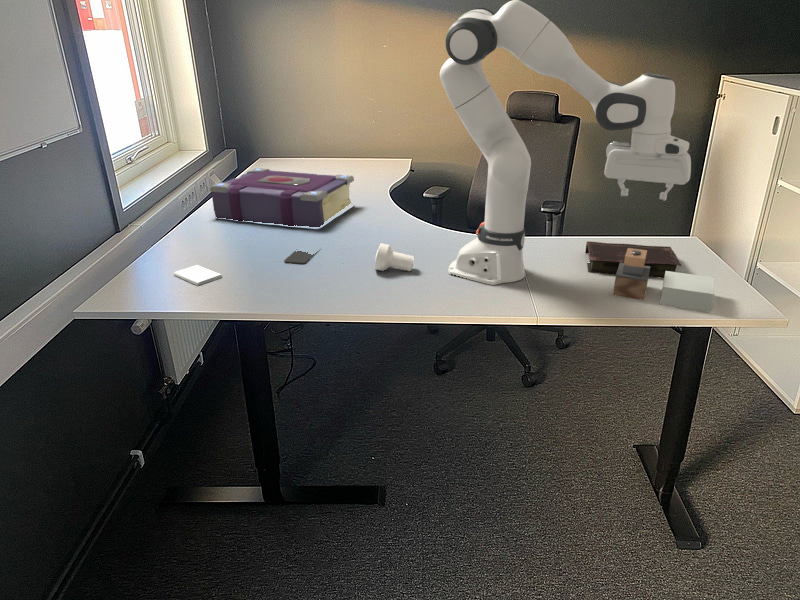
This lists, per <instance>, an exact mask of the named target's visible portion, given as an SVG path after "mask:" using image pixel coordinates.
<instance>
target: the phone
mask: <svg viewBox="0 0 800 600" xmlns="http://www.w3.org/2000/svg"><path fill="white" fill-rule="evenodd" d="M313 255H314V254H313ZM313 255H311V254H308V252H307V253H306V252H302V251H297V252H296V251H295V250H294V251H293V252H292V253H291V254H290V255H289V256H287V257H286V258H285V259H284V261H283V263H284V262H285V263H284V264H289V263H292V264H293V265H307V262H308V261H309V260H310V258H311V257H312V256H313ZM310 261H311V260H310ZM310 261H309V262H310ZM309 262H308V263H309ZM292 264H291V265H292Z"/></svg>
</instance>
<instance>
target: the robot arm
mask: <svg viewBox="0 0 800 600" xmlns="http://www.w3.org/2000/svg"><path fill="white" fill-rule="evenodd" d="M499 48H500V49H504V50H506V52H507V51H508V52H509V53H510V54H512V56H514V57H515V58H516V60H519V62H521V63H522V64H523V65H524V66H525V67H527V68H529V69H530V70H532V71H534V72H535V73H537V74H539V75H541V76H545V77H551V78H554V79H555V78H556V79H558V80H561V81H563V82H564V83H566V84H567V85H568V86H570V87H571V88H572V89H574V90H575V91H576V92H577V93H579V94H580V95H581V96H582V97H583V98H584V99H586V100H587V101H588V103H589V104H590V106H591V108H592V110H593V113H594V115H595V119H596V122H597V123H598V125H599V126H600V127H601V128H603V129H604V130H607V131H609V132H617V131H619V132H620V131H623V130H625V131H626V130H629V129H632V130H631V138H630V141H618V140H617V141H613V142H611V143H608V145H606V152H605V155H606V158H607V159H606V162H605V166H604V167H605V168H604V171H603V172H604V176H605V178H607V179H615V180H617V185H618V186H619V189H620V190H621V191H620V197H628V196H629V191H630V189H629V188H626V186H625V182H626V180H627V181H636V182H637V181H639V182H647V183H649V182H650V183H658V184H665V188H666V189H665V190H664V191H661V192H660V193H659V198H658V201H663V202H664V201H667V198H668V193H669V192H670V191H671V190H672V189H673V187H674V185H680V186H681V185H684V186H685V184H687V183H688V182H689V181H690V179H691V173H692V159H691V155H690V153H688V151H689V149H690V142H689V141H687V140H684V139H681V138H679V137H677V136H673V135H671V134H672V133H671V132H672V128H671V127H672V126H671V122H672V120H671V119H672V117H673V114H674V110H675V103H676V84H675V82H674V80H673V79H672V78H671V77H669V76H668V75H663V74H660V73H652V72H651V73H650V72H645V73H642V74H641V75H640V76H639V77H637V78H636V79H634V80H632V81H631V82H629V83H626V84H625V85H623V84H620V83H617V82H613V81H612V82H611V81H609V80H606V79H605V78H604V77H602V75H600V74H599V73H598V72H596V71H595V70H594V69H593V68H592V67H590V66H589V65H588V64H587V63H586V62H585V61H583V59H582V58H581V57H580V56H579V55H578V54H577V51H576V50H575V49H574V46H573V45H572V43H571V42H570V40H568V38H567V36H566V35H565V34H564V33H563V32H562V31H561V29H560V28H559V27H558V26H557V25H556V24H555V23H554V22H552V21H551V20H550V19H549V18H548V17H546V16H545V15H544V14H543V13H541V12H540V11H538V10H537V9H535V8H534V7H532V6H531V5H529V4H527V3H526V2H524V1H522V0H510V1H508V2H506V3H505V4H503V5H502V6H501V7H500V8H499V10H498V11H497V12H496V13H495V12H494V11H492V10H491V9H489V8H487V7H486V8H485V7H475V8H473V9H470V10H469V11H467V12H465V13H463V14H462V15H460V16H459V18H458V19H457V20H455V22H453V23H452V24H451V25H450V27H449V29H448V31H447V34H446V36H445V49H446V52H447V55H448V56H449V58H448V59H446V60H445V62H444V63H443V64H442V66H441V67H440V70H439V78H440V79H439V80H440V82H441V85H442V87H443V89H444V93H445V94H446V96H447V99H448V100H449V103H450V104H451V106H452V108H453V109H454V111H455V113H456V114H457V116H458V117H459V120H460V122H462V124H463V127H464V129H465V130H466V131H467V133H468V135H469V136H470V137H471V138H472V140H473V141H474V143H475V144H476V146H477V147H478V149H479V151H480V152H481V153H482V155H483V157H484V159H485V160H486V162H487V165H488V166H487V181H486V192H485V193H486V194H485V195H486V196H485V207H484V209H485V210H484V221H483V222H481V223H480V224H479V227H478V228H477V230H476V231H475V232H476V233H475V235H476V237H475V238H474V239H472V240H471V241H469V242H467V243H466V244H464V245H463V246H462V247H461V248H460V250H459V252H458V253H457V256H456V259H455V260H453V261H452V262H451V263H450V264H449V266H448V270H447V271H448V274H449V273H450V274H449V275H451V274H453V275H452V276H454V275H456V276H455V277H458V276H460V277H459V278H462V277H463V279H466V278H467V280H470V281H475V282H479V283H483V284H487V285H491V286H495V285H500V284H504V283H505V284H506V283H514V282H518V281H520V280H523V279H524V278H525V277H526V270H525V266H524V258H523V255H524V253H523V248H524V245H525V240H526V239H525V237H526V233H525V232H526V228H525V227H524V225H525V214H526V202H527V197H528V196H527V194H528V190H529V182H530V174H531V166H532V159H531V156H530V153H529V150H528V148H527V146H526V144H525V142H524V141H523V139H522V137H521V135H520V134H519V132H518V130H517V128H516V127H515V125H514V124H513V121H512V120H511V118H510V117H509V115H508V114H507V112H506V110H505V108H504V106H503V104H502V103H501V101H500V99H499V97H498V95H497V93H496V92H495V90H494V88H493V86H492V85H491V83H490V81H489V79H488V78H487V76H486V74H485V73H484V70H483V65H482V63H483V60H484V59H485V58H486V57H488V55H490V54H492V53H493V52H494V51H495V50H496V49H499Z"/></svg>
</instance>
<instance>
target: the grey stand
mask: <svg viewBox="0 0 800 600" xmlns="http://www.w3.org/2000/svg"><path fill="white" fill-rule="evenodd" d="M662 282H663V283H662V287H661V288H662V289H661V293H660V301H659V302H660V303H659V304H660V305H663V306H667V307H675V308H680V309H681V308H682V309H686V310H693V311H700V312H705V313H706V312H708V313H711V312H712V308H713V303H714V299H715V291H716V290H715V277H714V276H713V277H712V276H708V275H707V276H706V275H699V274H691V273H684V272H677V271H676V272H671V271H665V276H664V278H663V281H662Z"/></svg>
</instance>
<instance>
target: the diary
mask: <svg viewBox="0 0 800 600" xmlns="http://www.w3.org/2000/svg"><path fill="white" fill-rule="evenodd" d="M628 248H632V249H640V250H647V254H646V260H645V266H650V272H649V277H648V278H657V277H661V278H660V279H664V276H665V271H671V272H677V266H678V267H682V264H681V262H680V260H679V258H678V256H677V254H676V253H675V251H674V250H673V248H672V247H671V246H665V245H664V246H663V245H662V246H660V245H658V246H657V245H643V244H631V243H616V242H615V243H610V242H608V243H606V242H601V241H600V242H599V241H586V245H585V254H588V259H590V260H589V262H590V263H587V262H586V267H587V271H588V272H590V273H593V274H600V275H602V274H603V275H611V276H612V275H614V276H616V273H617V270H618V267H619V264H620V262H621V263H624V260H625V255H626V252H627V249H628Z"/></svg>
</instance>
